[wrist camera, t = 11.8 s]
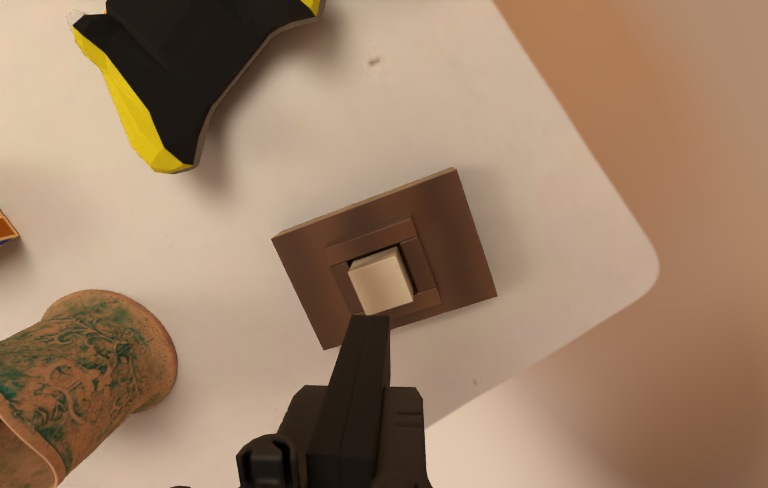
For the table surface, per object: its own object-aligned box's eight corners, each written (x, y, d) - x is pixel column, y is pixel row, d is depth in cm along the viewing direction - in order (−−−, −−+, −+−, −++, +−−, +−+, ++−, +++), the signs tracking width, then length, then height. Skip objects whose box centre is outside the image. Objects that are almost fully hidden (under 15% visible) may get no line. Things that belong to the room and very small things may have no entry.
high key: (397, 245, 22) (395, 255, 20) (413, 288, 23) (413, 301, 21) (352, 261, 23) (347, 272, 21) (369, 302, 23) (366, 316, 21)
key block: (452, 166, 24) (460, 171, 20) (490, 284, 26) (504, 308, 22) (281, 231, 26) (259, 246, 22) (329, 335, 28) (317, 365, 24)
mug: (-31, 358, 31) (-289, 484, 20) (114, 264, 28) (-94, 350, 16) (60, 453, 33) (-122, 616, 22) (204, 378, 30) (78, 523, 19)
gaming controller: (355, 12, 22) (232, -127, 21) (339, -29, 17) (171, -220, 15) (209, 182, 26) (94, 75, 24) (158, 193, 20) (6, 55, 19)
